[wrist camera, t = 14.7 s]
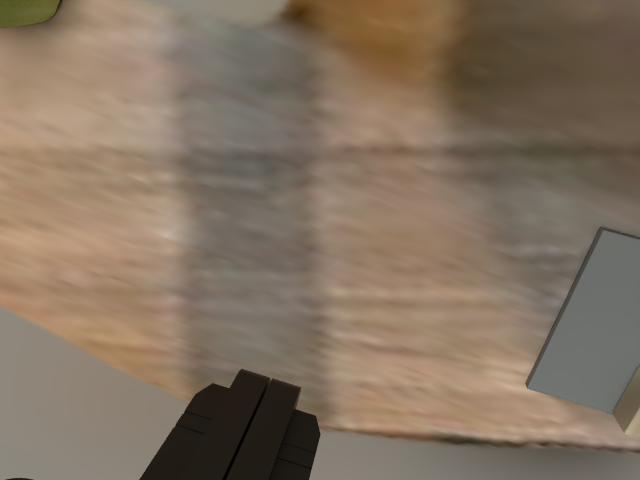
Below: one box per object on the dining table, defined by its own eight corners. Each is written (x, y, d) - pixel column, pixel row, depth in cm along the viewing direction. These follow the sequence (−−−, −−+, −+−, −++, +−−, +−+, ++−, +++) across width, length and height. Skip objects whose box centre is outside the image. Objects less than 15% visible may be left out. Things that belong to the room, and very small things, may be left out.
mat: (600, 227, 35) (603, 230, 35) (761, 270, 34) (766, 274, 34) (525, 383, 40) (527, 388, 40) (663, 425, 40) (666, 430, 39)
